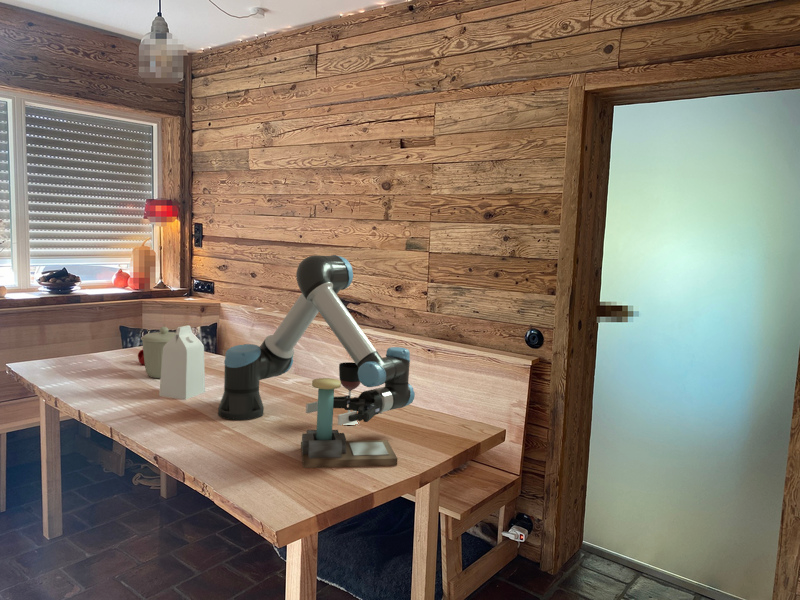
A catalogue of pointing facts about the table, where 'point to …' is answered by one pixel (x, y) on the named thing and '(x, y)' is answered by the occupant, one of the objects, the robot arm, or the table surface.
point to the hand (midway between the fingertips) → (322, 414)
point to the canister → (155, 350)
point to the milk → (182, 366)
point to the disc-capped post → (325, 406)
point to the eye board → (353, 459)
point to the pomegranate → (141, 357)
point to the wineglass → (349, 379)
